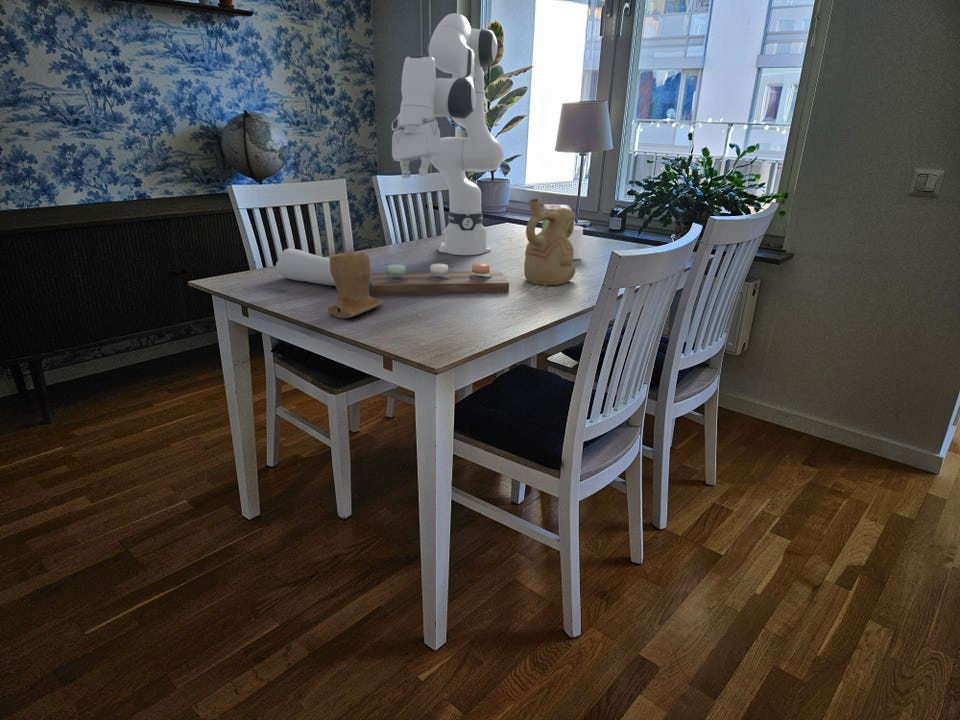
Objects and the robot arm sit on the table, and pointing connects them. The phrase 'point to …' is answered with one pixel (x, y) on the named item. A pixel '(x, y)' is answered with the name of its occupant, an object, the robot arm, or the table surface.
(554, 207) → the tea box
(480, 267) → the button terracotta
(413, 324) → the table surface
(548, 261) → the ceramic vessel
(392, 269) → the button sage
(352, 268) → the stone cup
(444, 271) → the button cream
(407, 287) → the button panel
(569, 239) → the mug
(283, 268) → the bottle
